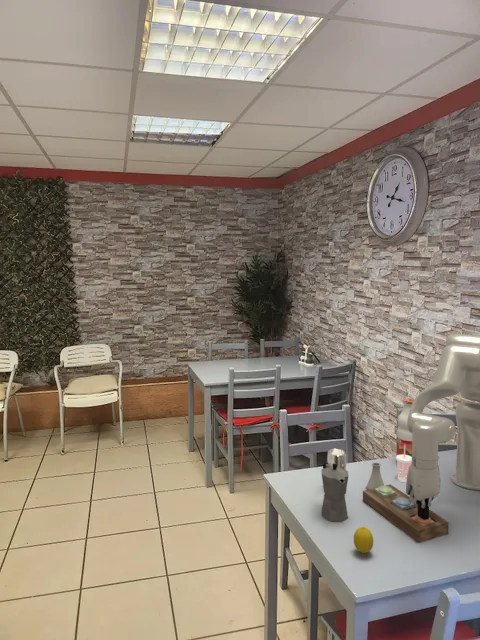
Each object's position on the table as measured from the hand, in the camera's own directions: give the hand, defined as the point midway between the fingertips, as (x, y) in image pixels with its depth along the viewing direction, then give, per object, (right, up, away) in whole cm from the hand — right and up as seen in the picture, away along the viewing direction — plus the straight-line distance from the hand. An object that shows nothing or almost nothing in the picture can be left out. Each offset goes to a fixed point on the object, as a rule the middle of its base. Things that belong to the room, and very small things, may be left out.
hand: (423, 517), depth 143 cm
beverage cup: (+7, -1, +35) cm, 36 cm away
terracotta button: (0, -3, 0) cm, 3 cm away
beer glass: (-21, -2, +27) cm, 35 cm away
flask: (-7, -2, +28) cm, 29 cm away
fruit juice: (+13, +1, +48) cm, 50 cm away
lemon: (-22, -6, -10) cm, 25 cm away
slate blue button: (-3, -1, +8) cm, 9 cm away
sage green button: (-7, 0, +17) cm, 18 cm away
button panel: (-3, -4, +9) cm, 10 cm away
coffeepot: (-26, -4, +12) cm, 29 cm away
